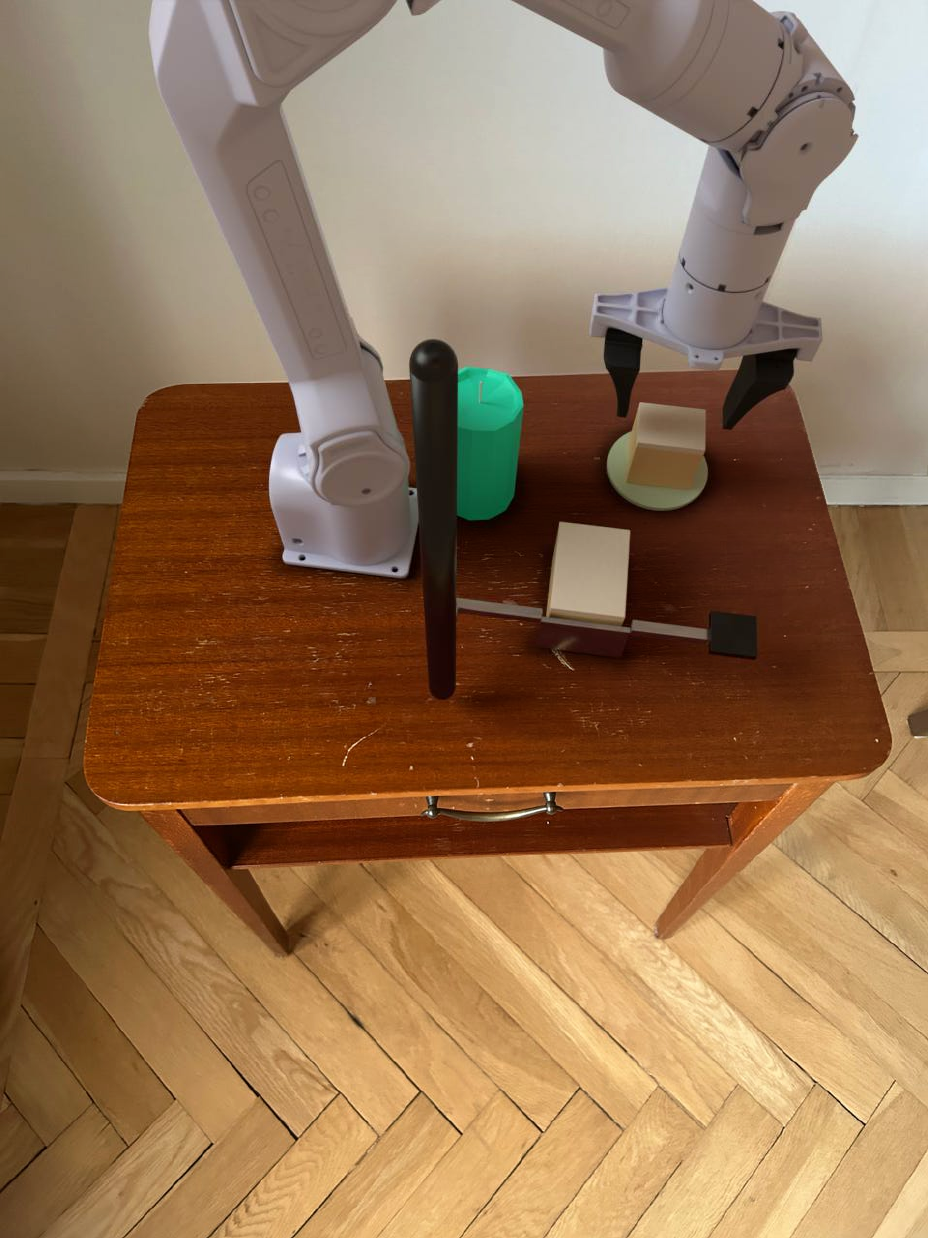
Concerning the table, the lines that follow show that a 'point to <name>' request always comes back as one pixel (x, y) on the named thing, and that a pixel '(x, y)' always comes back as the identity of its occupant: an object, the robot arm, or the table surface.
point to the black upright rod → (438, 544)
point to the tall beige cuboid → (589, 574)
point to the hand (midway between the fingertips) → (674, 412)
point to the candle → (487, 442)
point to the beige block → (666, 445)
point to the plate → (649, 494)
